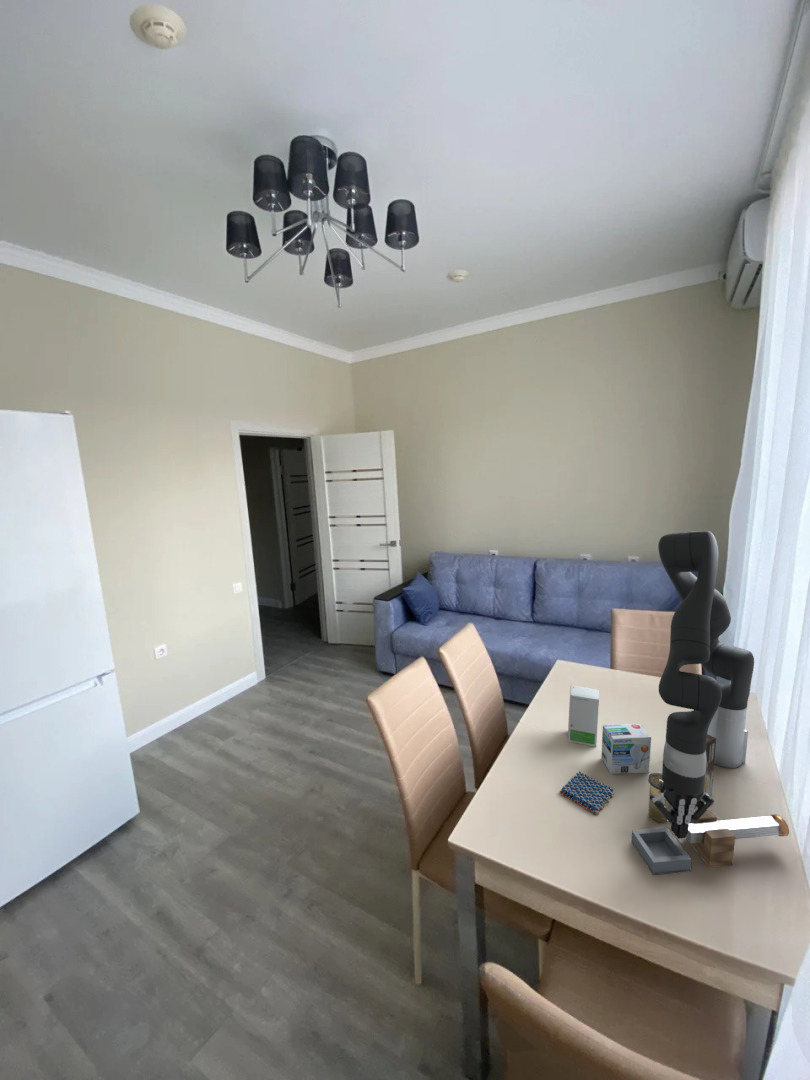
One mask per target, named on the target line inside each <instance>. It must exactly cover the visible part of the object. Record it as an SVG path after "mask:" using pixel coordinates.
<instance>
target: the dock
mask: <svg viewBox="0 0 810 1080" xmlns="http://www.w3.org/2000/svg"><path fill="white" fill-rule="evenodd" d="M630 839H631V840H630V842H631V844H632V845H633V847H634V848H635V850H636V851H637V853H638V854H639V856H640V858H641V859H642V860H643V862H644V864H645V866H646V867H647V868H648V870H649V871H650V873H651V874H652V876H656V875H657V876H658V875H667V874H668V875H669V874H679V873H686V872H687V873H688V872H691V867H692V858H691V856H690V855H689V854H688V853H687V852H686V851H685V849H684V847H682V845H681V844H680V843H679V842H678V840H677V838H676V837H675V835H674V834H672V831H670V830H669V829H668V827H666V826H665V827H655V828H645V829H644V828H643V829H635V830H633V829H632V830H631V837H630Z"/></svg>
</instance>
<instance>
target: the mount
mask: <svg viewBox="0 0 810 1080" xmlns="http://www.w3.org/2000/svg"><path fill="white" fill-rule="evenodd" d="M696 811H697V810H694V812H696ZM712 821H718V816H717V815H716V814H715V813H714V812H713V811H712V810H711V809H707V810H706V811H705V813H704V814H703V815H702V816H701V817H700V818H699V819H698V820H697V821H695V820H691V821H690V823H701V822H712ZM690 823H689V824H690ZM688 843H689V844H690V845H691V846H692V848H693V849H694V850H695V851H696V852H697V854H698V855H699V856H700V858H701V859H702V860H703V861H704V862H705V863H706V865H707V866H708V868H714V867H716V868H717V867H724V866H733V863H734V854H735V853H734V852H735V844H736V839H735V835H734V834H733V833H732V832H731V831H730V830H729V829H728V828H726V829H715V830H705V836H704V842H700V843H690V842H689V841H688Z"/></svg>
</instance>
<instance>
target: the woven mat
mask: <svg viewBox="0 0 810 1080" xmlns="http://www.w3.org/2000/svg"><path fill="white" fill-rule="evenodd" d="M559 793H560V795H562V796H563V797H565V798H567V799H569V800H570V801H573V802H574V803H576V804H578V805H579V806H581V807H582V808H584V809H586V810H588V811H589V812H591V813H593V814H594V815H599V814H600V812H601V810H604V807H605V805H606V806H607V805H608V803H610V800H611V798H613V797H615V790H614V789H613V788H611V787H610V786H607V785H605V783H602V782H599V780H596V779H593V777H590V776H588V775H587V774H586V773H585V774H584V773H582V772H581V771H580V770H579V771H578V772H576V773H575V775H574V776H572V777H571V779H570V780H568V782H567V783H565V785H564V786H562V788H561V789H560V790H559Z"/></svg>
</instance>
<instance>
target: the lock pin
mask: <svg viewBox="0 0 810 1080" xmlns="http://www.w3.org/2000/svg"><path fill="white" fill-rule="evenodd" d="M726 828H728V829H729V830H730V831H731V832H732V833H733V834H734V835H735V840H742V839H753V838H763V837H765V838H766V837H773V836H774V837H776V836H778V837H787V836H788V835H789V834H790V829H789V826H788V824H787V821H786V820H785V819H784V818H783V817H782V816H781V815H780V814H775V813H774V814H769V815H768V816H757V817H756V816H755V817H746V818H736V819H725V820H724V819H723V820H717V821H712V822H701V823H690V824H688V834H687V835H686V838H685V839H686V840H687V842H688V843H689V842H690V843H700V842H704V836H705V830H715V829H726ZM690 843H689V844H690Z"/></svg>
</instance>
